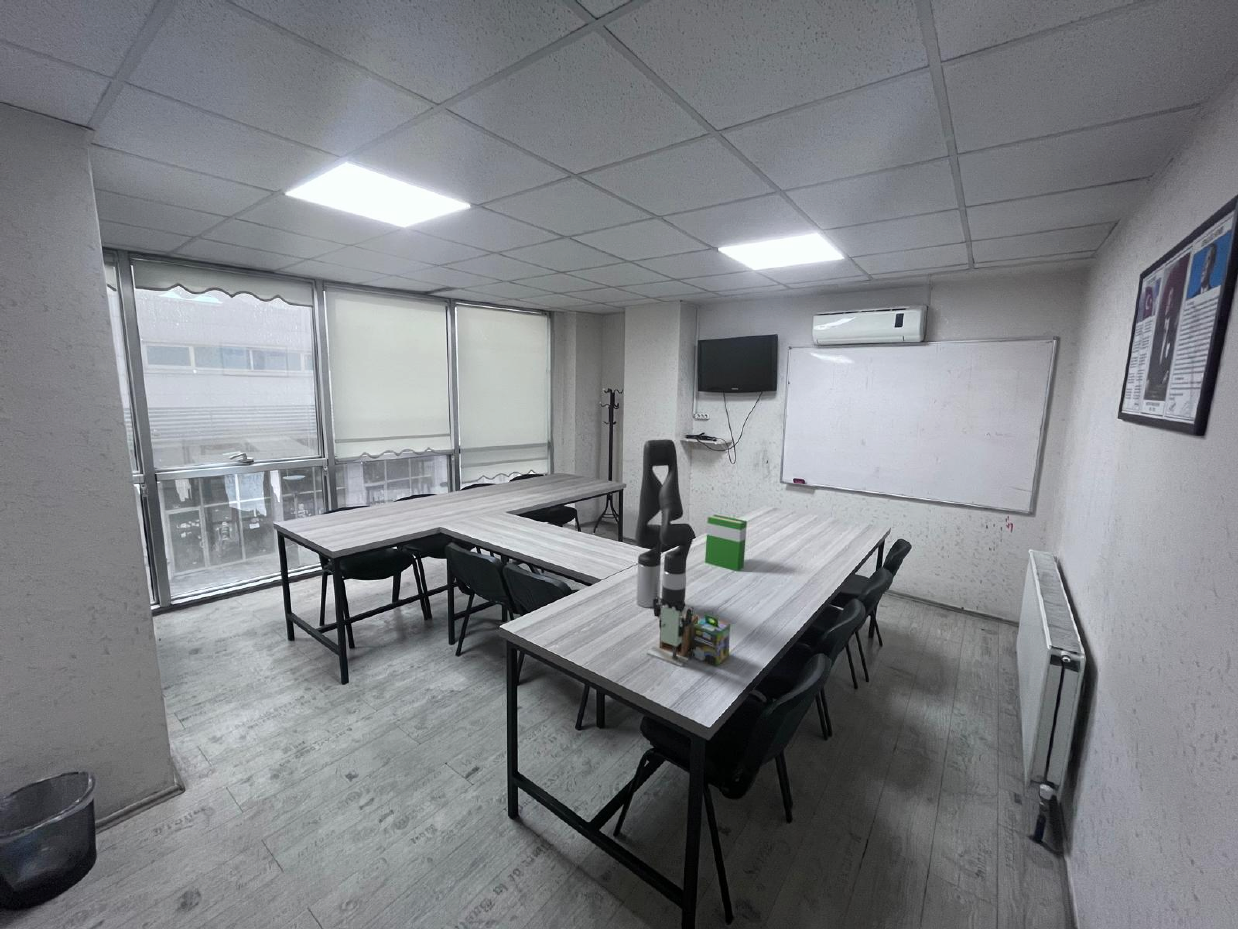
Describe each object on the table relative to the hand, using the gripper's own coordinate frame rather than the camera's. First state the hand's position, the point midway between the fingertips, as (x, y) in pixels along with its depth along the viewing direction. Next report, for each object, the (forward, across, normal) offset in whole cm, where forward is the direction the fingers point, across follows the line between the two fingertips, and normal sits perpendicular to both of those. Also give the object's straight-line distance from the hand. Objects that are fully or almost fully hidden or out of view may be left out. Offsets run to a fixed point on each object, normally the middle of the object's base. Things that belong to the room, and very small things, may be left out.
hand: (671, 632), depth 162 cm
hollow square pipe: (+3, 0, 0) cm, 3 cm away
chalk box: (+9, -10, -9) cm, 16 cm away
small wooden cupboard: (+9, +1, -5) cm, 10 cm away
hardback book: (+9, +20, -93) cm, 96 cm away
